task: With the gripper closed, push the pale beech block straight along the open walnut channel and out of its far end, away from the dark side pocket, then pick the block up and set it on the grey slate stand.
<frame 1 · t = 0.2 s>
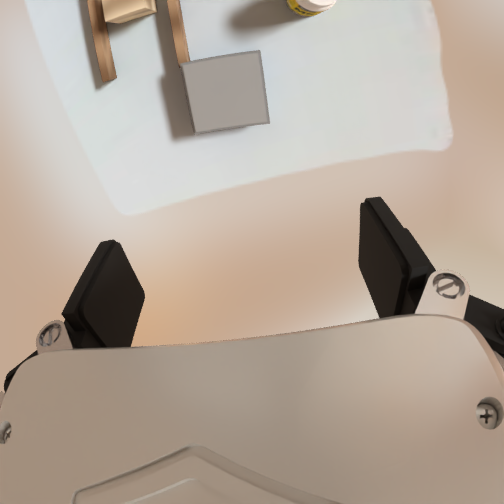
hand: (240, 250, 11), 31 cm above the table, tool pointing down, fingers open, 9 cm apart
supplement bottle: (304, 1, 28), on the table
channel: (137, 14, 27), on the table
stand: (227, 88, 35), on the table
block: (136, 1, 26), on the table
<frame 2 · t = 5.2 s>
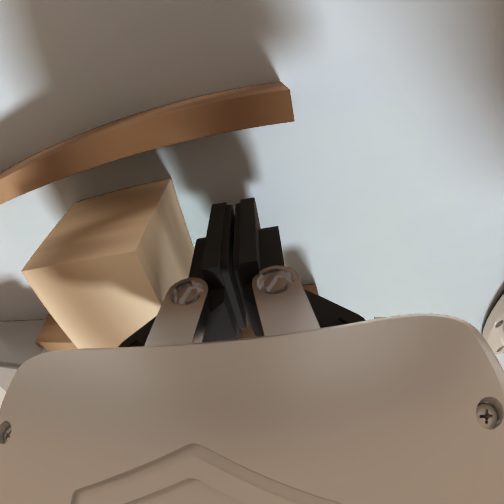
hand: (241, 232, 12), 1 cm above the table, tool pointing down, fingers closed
channel: (128, 239, 14), on the table
stand: (50, 356, 21), on the table
block: (137, 237, 14), on the table, touching gripper
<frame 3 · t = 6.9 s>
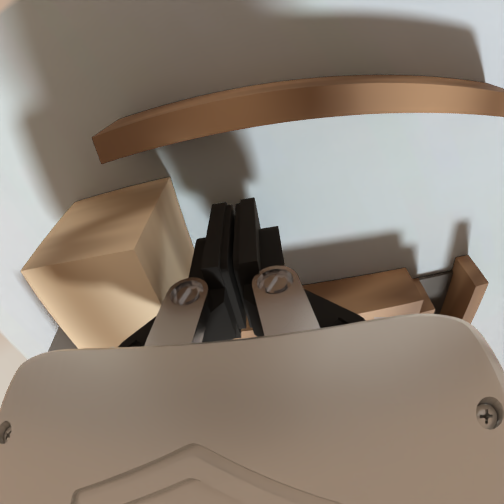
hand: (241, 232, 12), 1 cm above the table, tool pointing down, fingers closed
channel: (335, 203, 13), on the table
stand: (144, 356, 20), on the table
block: (137, 236, 14), on the table, touching gripper
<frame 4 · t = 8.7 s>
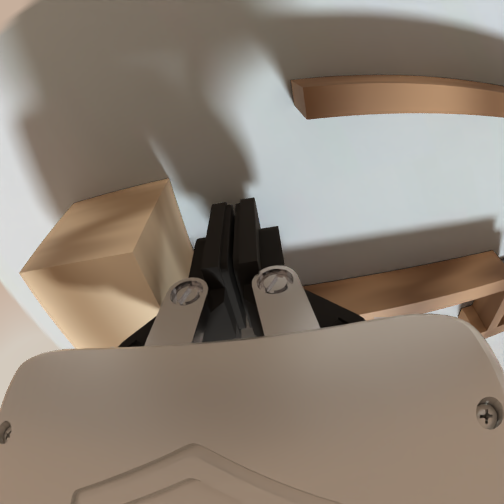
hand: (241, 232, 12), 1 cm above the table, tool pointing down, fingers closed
channel: (460, 190, 12), on the table
block: (136, 237, 14), on the table, touching gripper
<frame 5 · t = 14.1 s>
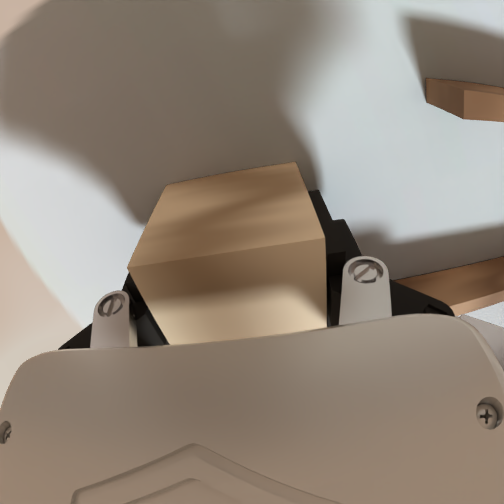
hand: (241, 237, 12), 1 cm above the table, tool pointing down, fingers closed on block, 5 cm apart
block: (241, 227, 13), on the table, touching gripper
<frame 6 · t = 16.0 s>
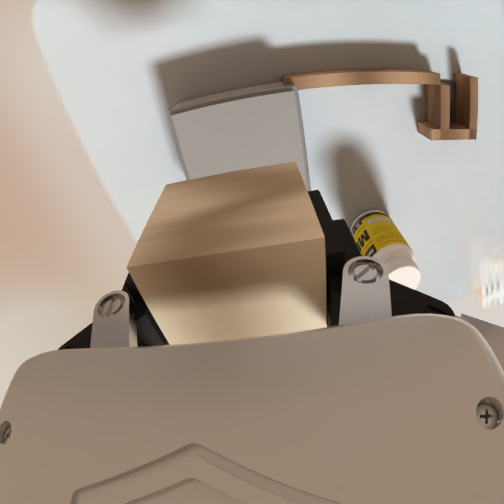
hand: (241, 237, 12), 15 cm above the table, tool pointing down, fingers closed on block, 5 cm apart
supplement bottle: (369, 227, 30), on the table
channel: (379, 19, 18), on the table
stand: (243, 140, 25), on the table
block: (241, 227, 13), point 14 cm above the table, touching gripper
when the fingers open (6 cm above the table, at t = 18.1 s): block drops 1 cm, resting on stand.
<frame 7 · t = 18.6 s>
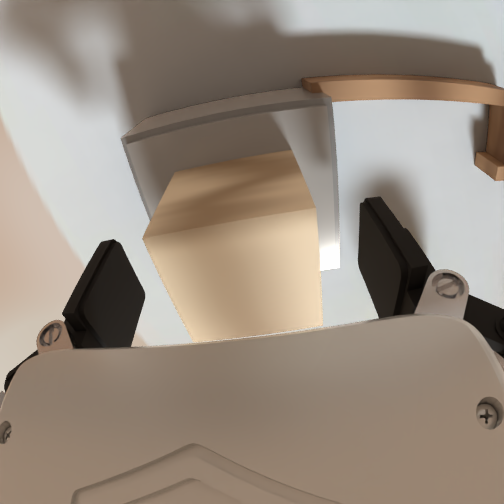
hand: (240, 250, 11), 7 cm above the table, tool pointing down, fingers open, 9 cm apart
channel: (439, 8, 11), on the table
stand: (242, 173, 17), on the table
block: (243, 211, 14), point 4 cm above the table, touching stand
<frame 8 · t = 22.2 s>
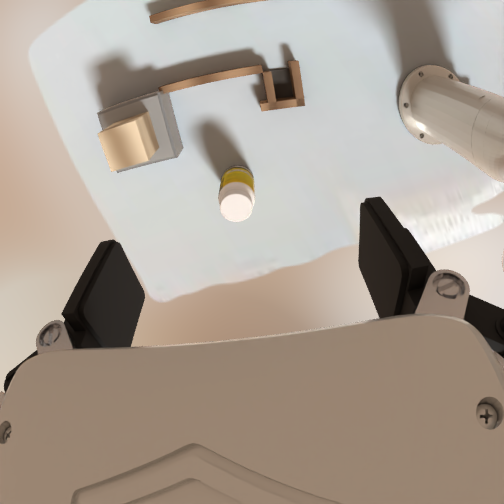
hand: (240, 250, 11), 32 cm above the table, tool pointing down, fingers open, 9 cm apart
supplement bottle: (237, 179, 44), on the table
channel: (223, 38, 32), on the table
stand: (145, 126, 39), on the table
block: (136, 134, 35), point 4 cm above the table, touching stand
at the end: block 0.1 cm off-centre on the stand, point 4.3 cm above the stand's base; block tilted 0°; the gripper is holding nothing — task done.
